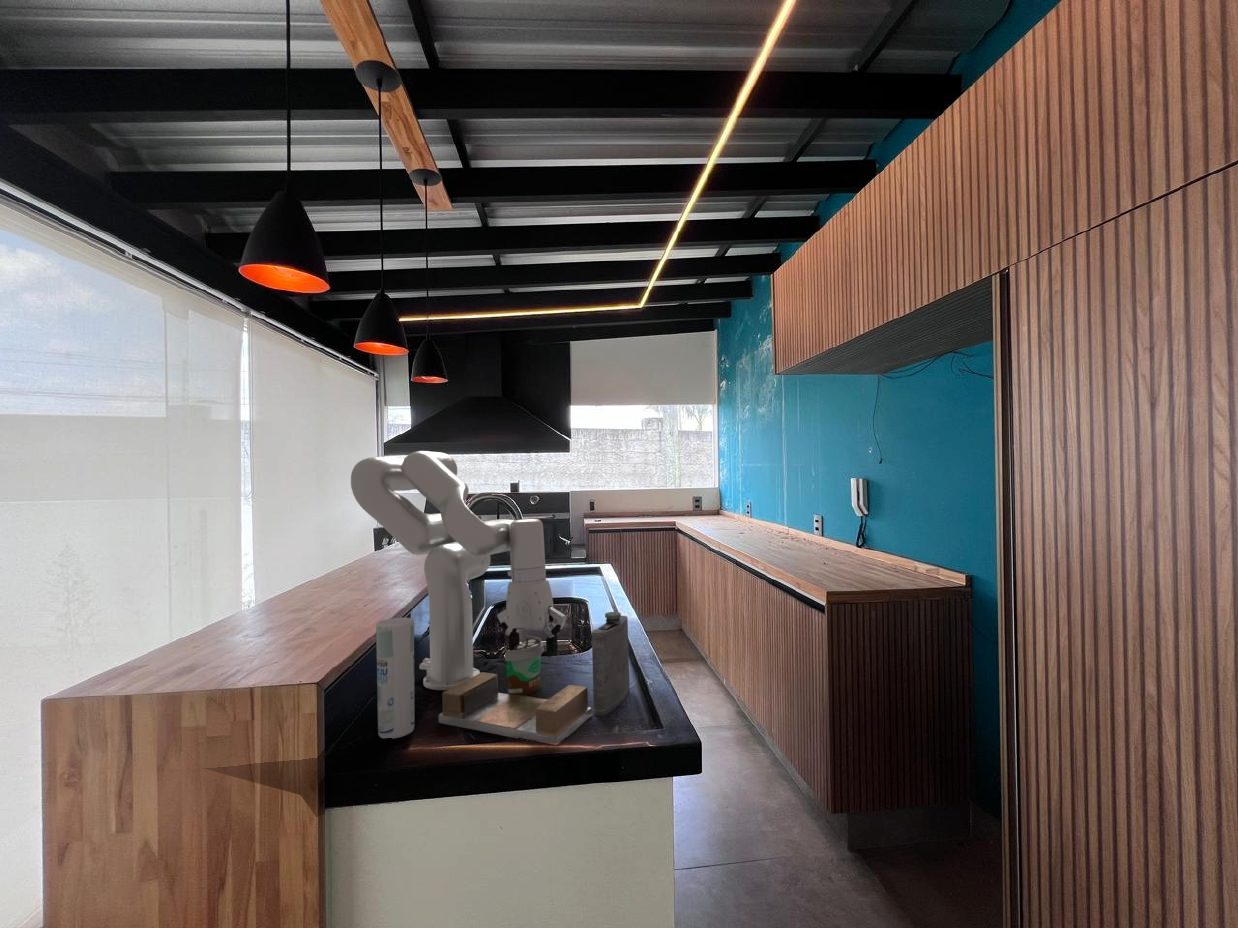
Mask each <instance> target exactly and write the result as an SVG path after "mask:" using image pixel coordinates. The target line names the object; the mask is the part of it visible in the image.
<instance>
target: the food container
mask: <svg viewBox="0 0 1238 928" xmlns="http://www.w3.org/2000/svg"><path fill="white" fill-rule="evenodd" d="M544 651H545V648H544V644H543V641H542V639H541V638H540V637H536V636H532V635H524V640H523V641H522V642H520V644H518V645H516V646H515V647H514V649H513V650H509V649H508V650H507V649H506V650H505V654H504V662H505V663H506V679H507V694H509V695H522V696H528V695H531V694H534V693H536V692H537V691H539V689H540V686H541V685H540V684H541V683H540V682H541V666H542V665H541V661H542V654H543V653H544Z"/></svg>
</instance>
